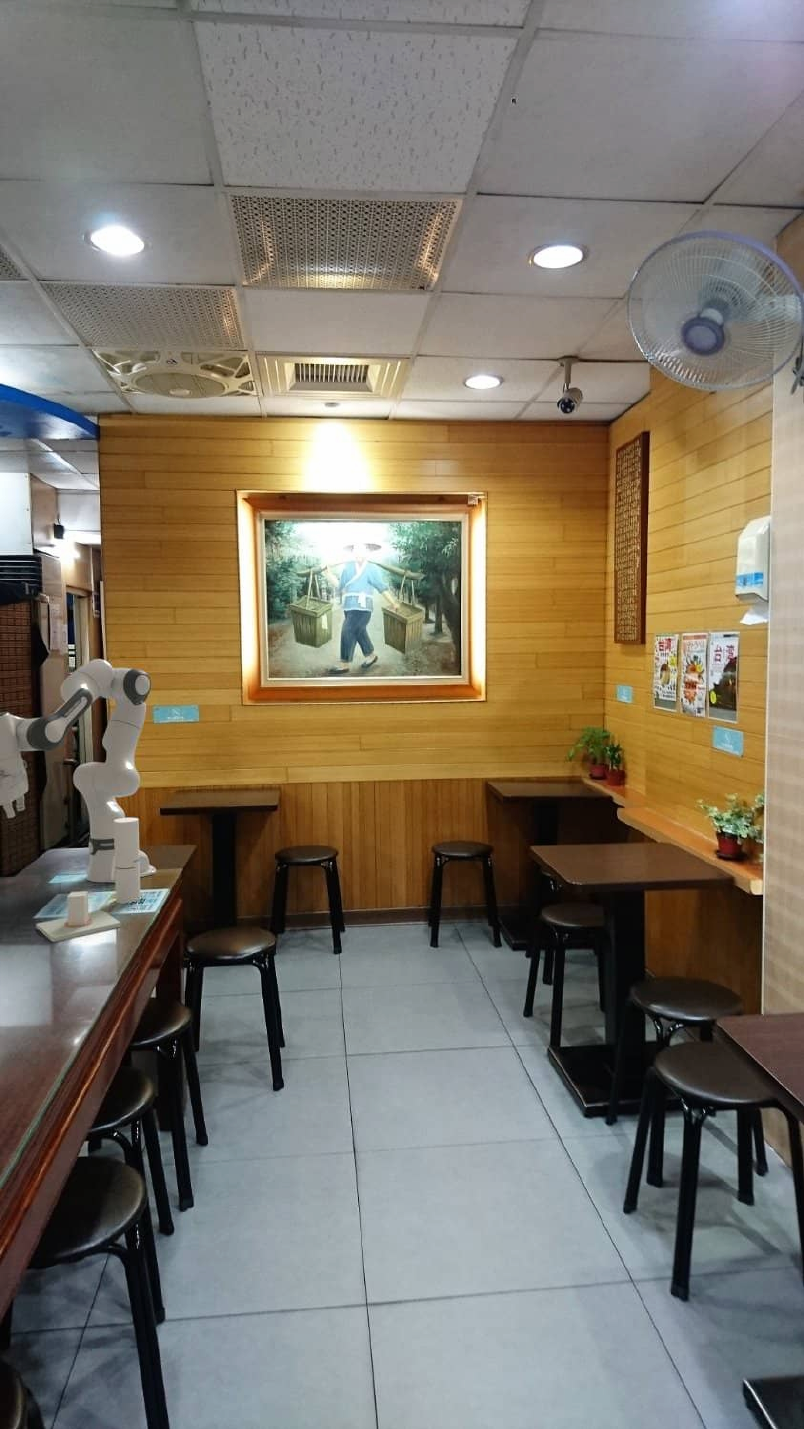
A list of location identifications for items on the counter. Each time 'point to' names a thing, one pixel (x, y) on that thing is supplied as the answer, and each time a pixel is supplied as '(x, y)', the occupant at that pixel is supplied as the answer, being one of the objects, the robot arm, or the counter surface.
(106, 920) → the base plate
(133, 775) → the robot arm
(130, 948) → the counter surface
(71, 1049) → the counter surface
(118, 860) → the cylindrical container
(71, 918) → the square block
